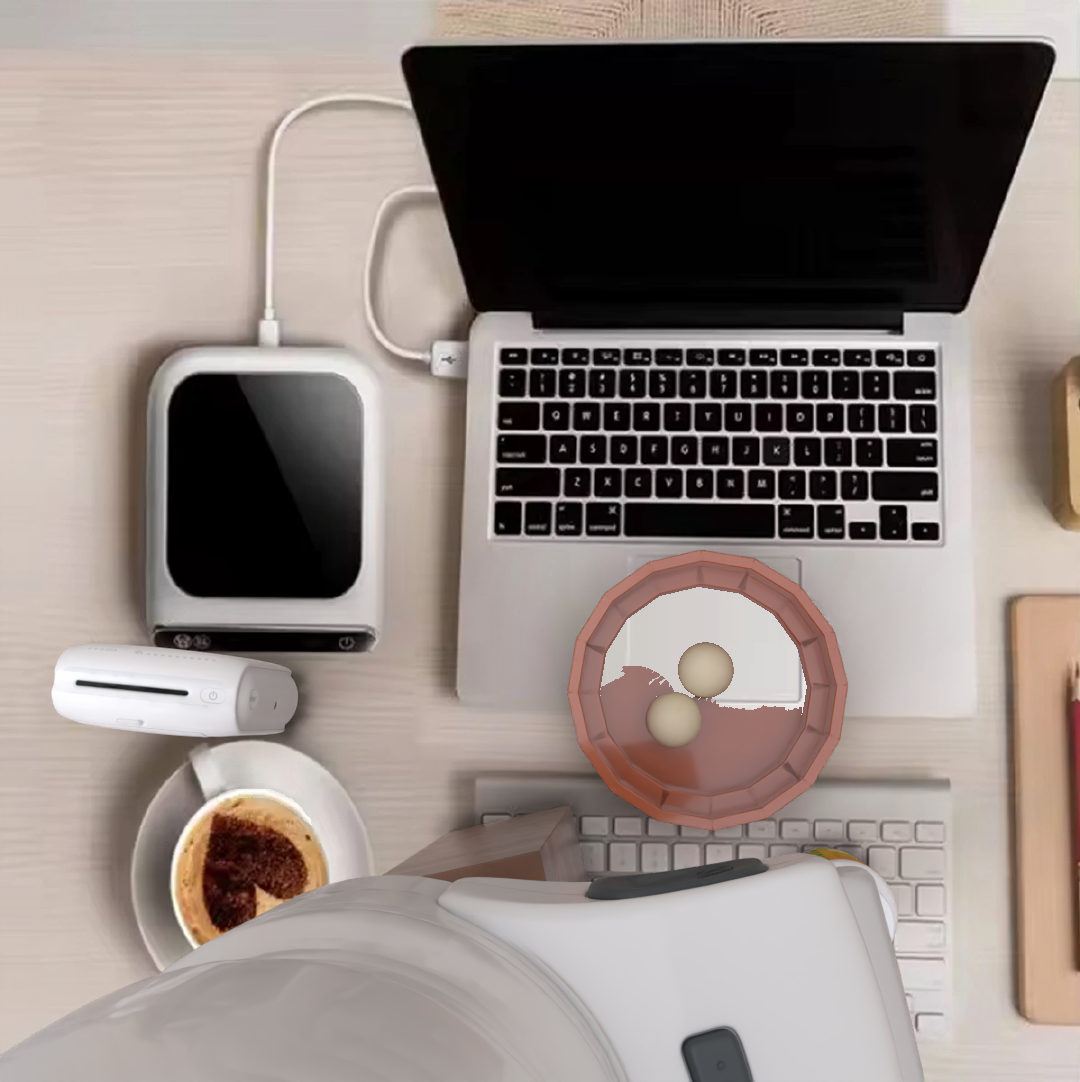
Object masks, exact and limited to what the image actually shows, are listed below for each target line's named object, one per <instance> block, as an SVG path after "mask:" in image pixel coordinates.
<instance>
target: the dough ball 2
mask: <svg viewBox="0 0 1080 1082" xmlns="http://www.w3.org/2000/svg"><path fill="white" fill-rule="evenodd" d="M733 674H734V667H733V662H732V659H731V657H730V656H729V654H728V653H727V652H726V651H725V650H724V649H723V648H722V647H720V646H719V645H716V644H714V643H709V642H702V643H697V644H695V645H693V646H691V647H689V648H688V649H687V650H686V651H685V652H684V653H683V655H682V656H681V658H680V661H679V664H678V675H679V679H680V681H681V683H682V685H683V686H684V688H685V689H686V690H687V691H688V692H690V693H691V694H693V695H695V696H698V697H702V698H710V697H715V696H717V695H719V694H721V693H722V692H724V691H725V690H726V689H727V688H728V686H729V685H730V683H731V681H732V678H733Z"/></svg>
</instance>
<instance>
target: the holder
mask: <svg viewBox="0 0 1080 1082" xmlns="http://www.w3.org/2000/svg"><path fill="white" fill-rule="evenodd" d="M385 875H404V876H418V877H426V878H432V879H438V880H443V881H448V882H451V883H453V882H455V881H457V880H459V879H462V878H469V877H491V878H508V879H521V880H534V881H551V882H589V879H588V876H587V870H586V867H585V862H584V857H583V853H582V849H581V844H580V839H579V836H578V831H577V827H576V822H575V817H574V813H573V809H572V805H571V804H566V805H561V806H557V807H552V808H548V809H544V810H538V811H535V812H531V813H526V814H522V815H517V816H513V817H508V818H504V819H500V820H494V821H491V822H487V823H482V824H478V825H477V824H476V825H473V826H469V827H463V828H460V829H455V830H451V831H448V832H446V833H445V834H443V835H442V836H441V837H439V838H438V839H437V838H436V840H434V841H433V842H431V843H429V844H428V845H426V846H425V847H424V848H422V849H420V850H419V851H417V852H415V853H414V854H413V855H411V856H409V857H408V858H407V859H405V860H403V861H402V862H400V863H399V864H397V865H396V866H394V867H393V868H391V869H390V870H388V871H387V872H385V873H383V874H381V876H385Z"/></svg>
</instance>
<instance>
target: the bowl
mask: <svg viewBox="0 0 1080 1082" xmlns="http://www.w3.org/2000/svg"><path fill="white" fill-rule="evenodd" d="M696 587H702V588H708V589H714V590H720V591H727V592H733V593H739V594H741V595H743V596H744V597H746V598H748V599H749V600H751V601H752V602H754V603H756V604H757V605H759V606H761V607H762V608H764V609H765V610H767V611H769V612H770V613H772V614H773V615H774V616H775V618H776V619H777V620H778V622H779V623H780V624H781V626H782V627H783V628H784V630H785V631H786V633H787V634H788V635H789V637H790V638H791V640H792V641H793V642H794V644H795V645H796V647H797V649H798V653H799V657H800V661H801V664H802V669H803V673H804V677H805V681H806V685H807V689H806V695H805V702H804V707H803V713H802V707H799V709H797V708H794V709H793V710H789V709H788V711H787V710H785V707H776V706H774V707H767V706H764V705H763V706H762V707H761V708H757V709H754V710H745V708H742V709H738V708H735V709H734V708H732V707H729V708H728V707H725V706H724V707H719V704H716V700H715V701H714V702H713V703H712V702H711V699H712V697H710V698H708V699H707V701H706V698H702V697H701V698H700V697H698V696H695V697H693V698H692V699H693V700H694V701H695V702H696V703H697V705H698V707H699V709H700V711H701V715H702V725H701V729H700V732H699V734H698V735H697V737H696V738H695V739H694V740H693V741H692V742H691V743H689V744H687V745H685V746H683V747H678V748H671V747H666V746H664V745H661V744H660V743H658V742H657V741H656V740H655V739H654V738H653V737H652V736H651V734H650V733H649V730H648V728H647V723H646V716H647V711H648V709H649V706H650V705H651V703H652V702H653V701H654V700H655V699H656V698H657V697H658V696H660V695H662V694H665V693H668V692H674V690H673V688H672V686H671V685H670V687H669V682H668V681H667V680H665V681H664V682H663V683H662V684H661V685H660V683H659V682H660V681H662V680H663V679H665V678H664V677H663V676H660V674H659V673H657V672H655V671H654V672H653V670H651V669H649V668H647V669H646V667H642V666H623V667H622V668H623V670H622V671H621V672H624V673H625V674H624V676H622V677H620V678H619V679H615V680H614V681H612V682H610V683H608V684H606V685H605V686H602V687H601V682H602V676H603V670H604V664H605V657H606V653H607V651H608V649H609V648H610V646H611V645H612V643H613V641H614V640H615V638H616V637H617V635H618V633H619V632H620V630H621V628H622V627H623V625H624V624H625V622H626V620H627V619H628V618H630V617H631V616H632V615H634V614H635V613H637V612H638V611H639V610H641V609H642V608H644V607H645V606H647V605H648V604H649V603H651V602H652V601H653V600H655V599H656V598H658V597H659V596H662V595H666V594H671V593H675V592H679V591H683V590H688V589H692V588H696ZM652 672H653V673H652ZM659 676H660V677H659ZM657 677H659V678H658V679H655V678H657ZM652 679H655V680H654V681H653V682H652V683H651V684H650V685H649V682H650V681H652ZM848 684H849V682H848V677H847V674H846V670H845V666H844V662H843V658H842V655H841V650H840V647H839V643H838V640H837V636H836V631H835V630H834V628H833V627H832V626H831V624H830V623H829V622H828V620H827V619H826V617H825V616H824V615H823V614H822V612H821V611H820V609H819V608H818V606H817V605H816V604H815V603H814V601H813V600H812V599H811V597H810V596H809V595H808V593H807V592H806V590H804V588H803V587H802V586H801V585H799V584H798V583H797V582H794V580H791V579H790V578H788V577H787V576H785V575H783V574H781V573H780V572H778V571H776V570H775V569H773V568H771V567H770V566H768V565H767V564H765V563H763V562H762V561H760V560H758V559H757V558H754V557H748V556H743V555H738V554H737V555H735V554H731V553H724V552H718V551H711V550H705V549H697V550H694V551H689V552H684V553H681V554H676V555H672V556H668V557H664V558H663V557H662V558H659V559H655V560H651V561H648V562H646V563H644V564H643V565H642V566H641V567H639V568H637V569H636V570H635V571H634V572H632V573H631V574H629V575H628V576H627V577H625V578H624V579H622V580H621V581H620V582H618V583H617V584H615V585H614V586H612V587H611V588H610V589H608V590H607V591H605V593H604V594H603V595H602V596H601V598H600V599H599V601H598V603H597V605H596V606H595V608H594V609H593V611H592V612H591V614H590V616H589V618H588V619H587V620H586V622H585V624H584V625H583V627H582V628H581V630H580V632H579V633H578V635H577V636H576V639H575V642H574V649H573V655H572V660H571V666H570V673H569V678H568V684H567V689H566V692H567V693H566V694H567V699H568V704H569V708H570V711H571V712H570V713H571V716H572V721H573V725H574V729H575V735H576V738H577V742H578V743H577V744H578V745H579V748H580V749H581V751H582V753H583V754H584V756H585V757H586V758H587V759H588V761H589V762H590V764H591V765H592V767H593V768H594V770H596V772H597V773H598V775H599V777H600V778H601V779H602V781H603V782H604V783H605V785H606V786H607V788H608V790H609V791H610V792H611V793H613V794H614V795H616V796H618V797H619V798H620V799H622V800H623V801H625V802H627V803H628V804H630V805H631V806H633V807H635V808H636V809H638V810H639V811H641V812H643V813H644V814H645V815H647V816H648V817H651V818H652V819H653V820H655V821H657V822H659V823H666V824H671V825H676V826H683V827H688V828H693V829H699V830H704V831H708V832H709V831H710V832H713V831H714V832H715V831H720V830H723V829H728V828H733V827H736V826H741V825H746V824H750V823H754V822H755V823H756V822H759V821H764V820H767V819H769V818H770V817H772V816H773V815H774V814H776V813H777V812H779V811H780V810H782V809H783V808H784V807H786V806H787V805H788V804H790V803H791V802H792V801H794V800H796V799H797V798H798V797H800V796H801V795H802V794H803V793H805V792H806V791H808V790H810V789H811V788H812V787H813V785H814V783H815V782H816V780H817V779H818V778H819V775H820V774H821V772H822V771H823V769H824V767H825V765H827V762H828V761H829V759H830V758H831V755H832V754H833V753H834V751H835V749H836V747H837V746H838V745H839V742H841V741H840V740H841V736H842V729H843V723H844V718H845V710H846V704H847V695H848V690H849V685H848ZM600 688H601V690H600ZM600 695H601V696H600ZM656 696H657V697H656ZM699 698H700V699H699ZM698 699H699V700H698ZM801 714H802V715H801Z"/></svg>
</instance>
